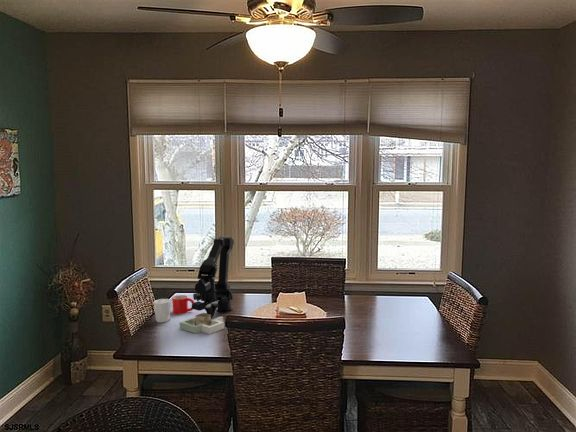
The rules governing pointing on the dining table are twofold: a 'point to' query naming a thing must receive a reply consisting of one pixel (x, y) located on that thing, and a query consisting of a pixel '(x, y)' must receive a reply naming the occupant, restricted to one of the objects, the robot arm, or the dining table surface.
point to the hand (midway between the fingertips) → (210, 319)
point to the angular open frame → (202, 325)
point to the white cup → (162, 310)
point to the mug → (181, 304)
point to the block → (203, 319)
